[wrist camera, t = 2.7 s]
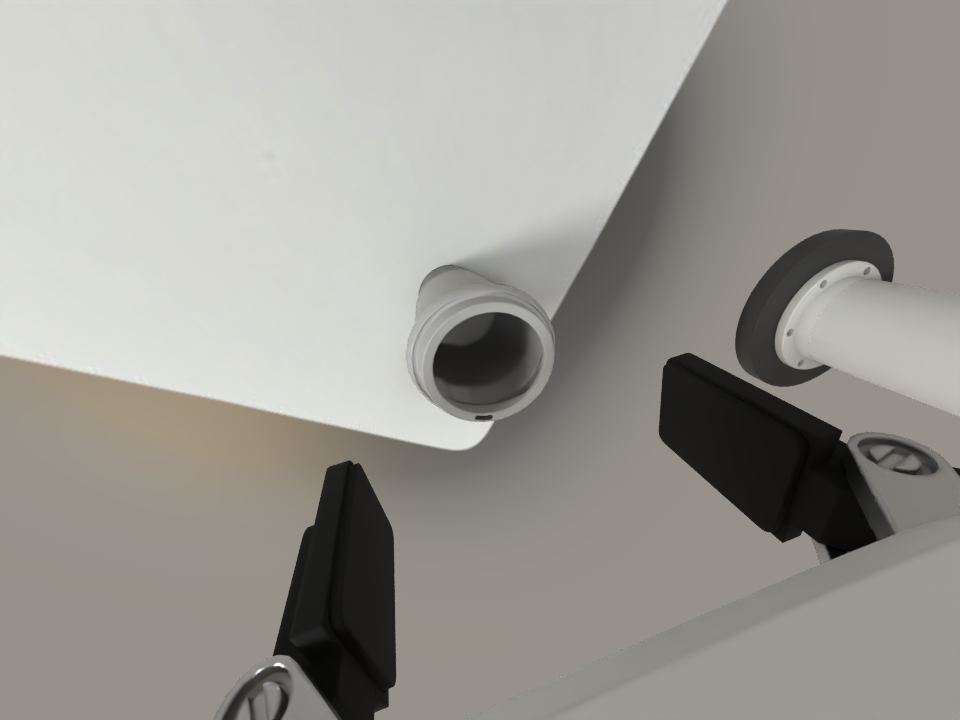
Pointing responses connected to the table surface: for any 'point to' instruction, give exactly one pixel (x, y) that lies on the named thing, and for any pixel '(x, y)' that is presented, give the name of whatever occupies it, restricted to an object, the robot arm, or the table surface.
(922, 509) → the robot arm
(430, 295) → the cup
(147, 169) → the table surface
